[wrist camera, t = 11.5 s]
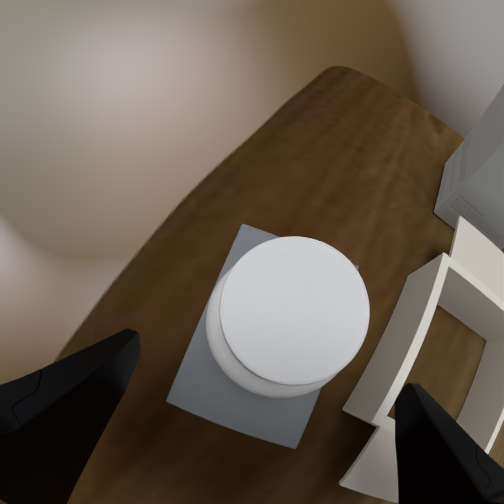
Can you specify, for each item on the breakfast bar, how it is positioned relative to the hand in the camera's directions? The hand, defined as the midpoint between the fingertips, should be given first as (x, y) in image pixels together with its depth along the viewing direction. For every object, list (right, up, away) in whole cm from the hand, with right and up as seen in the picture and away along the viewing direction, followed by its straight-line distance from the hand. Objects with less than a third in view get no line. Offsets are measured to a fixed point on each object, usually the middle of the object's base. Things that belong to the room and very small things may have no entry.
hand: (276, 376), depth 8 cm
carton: (+12, -4, +8) cm, 15 cm away
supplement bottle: (0, -1, +8) cm, 8 cm away
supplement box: (+19, +8, +13) cm, 24 cm away
